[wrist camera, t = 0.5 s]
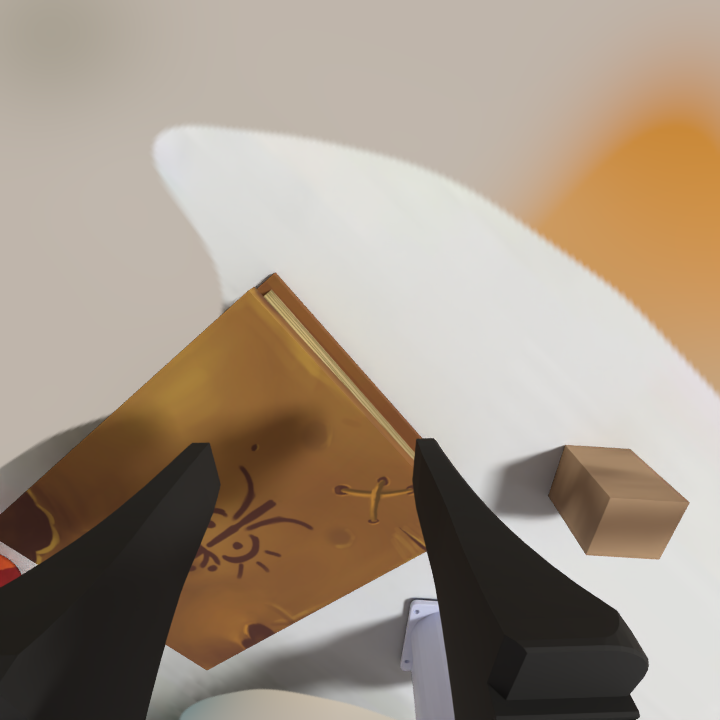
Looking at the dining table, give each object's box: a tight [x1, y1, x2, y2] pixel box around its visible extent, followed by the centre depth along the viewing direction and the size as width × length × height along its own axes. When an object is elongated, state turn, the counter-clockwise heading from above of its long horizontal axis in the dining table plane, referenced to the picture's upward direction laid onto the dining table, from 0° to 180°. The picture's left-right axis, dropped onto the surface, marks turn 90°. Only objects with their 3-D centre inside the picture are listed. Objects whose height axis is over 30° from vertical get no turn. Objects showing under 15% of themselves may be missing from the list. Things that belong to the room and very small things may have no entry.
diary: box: [0, 272, 427, 670], centre depth 24 cm, size 23×19×6 cm
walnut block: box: [548, 445, 690, 559], centre depth 23 cm, size 4×4×5 cm
